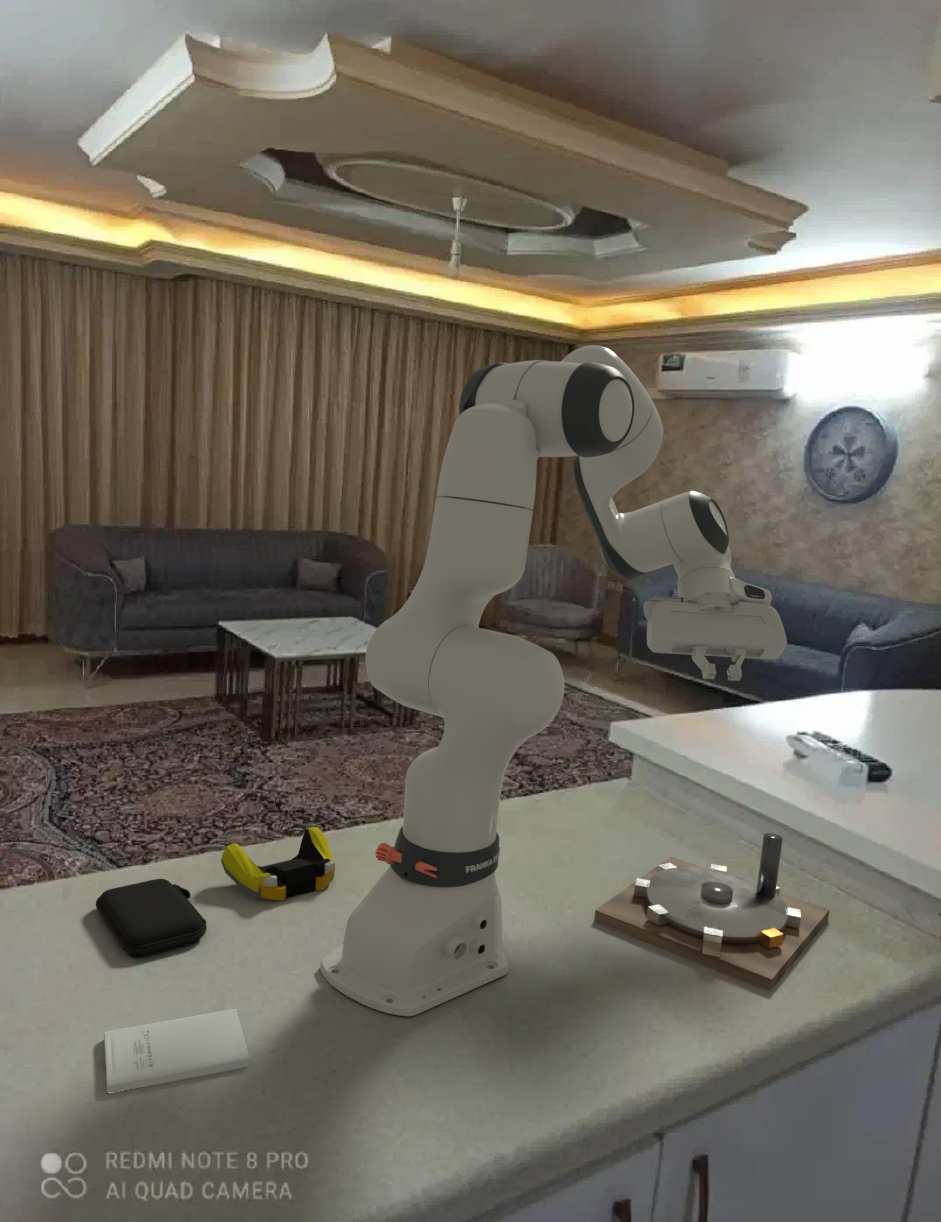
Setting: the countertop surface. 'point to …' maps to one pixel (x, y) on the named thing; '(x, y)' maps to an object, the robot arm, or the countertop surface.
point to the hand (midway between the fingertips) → (722, 677)
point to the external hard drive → (174, 1050)
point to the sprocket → (722, 900)
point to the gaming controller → (283, 869)
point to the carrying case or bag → (151, 917)
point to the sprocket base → (731, 953)
